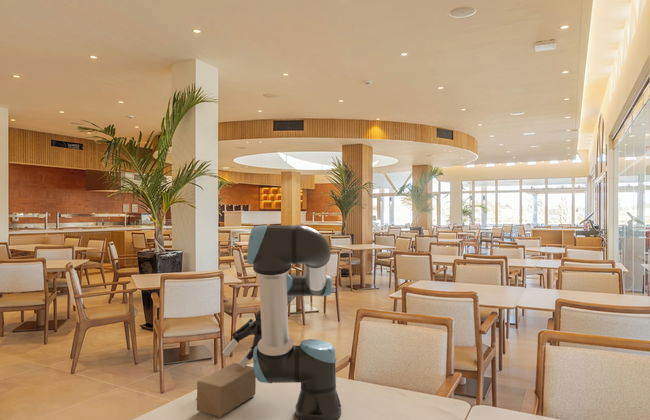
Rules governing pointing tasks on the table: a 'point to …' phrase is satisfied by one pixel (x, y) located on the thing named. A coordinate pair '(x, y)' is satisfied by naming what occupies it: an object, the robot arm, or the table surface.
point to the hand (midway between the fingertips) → (232, 360)
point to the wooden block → (225, 389)
